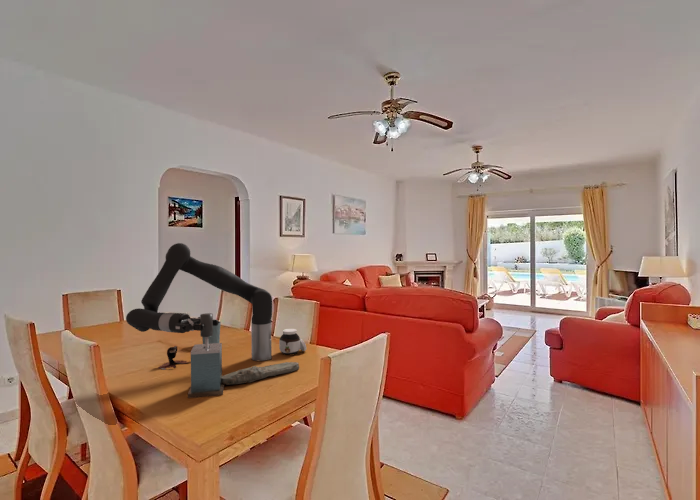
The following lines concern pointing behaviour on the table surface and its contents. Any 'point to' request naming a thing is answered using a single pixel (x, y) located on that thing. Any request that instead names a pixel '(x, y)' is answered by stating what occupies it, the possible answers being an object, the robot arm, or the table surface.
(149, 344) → the table surface
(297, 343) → the spread jar
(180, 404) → the table surface
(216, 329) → the drinking glass
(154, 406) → the table surface
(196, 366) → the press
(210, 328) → the lever
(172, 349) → the dark brown curved piece
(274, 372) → the long grey stone
